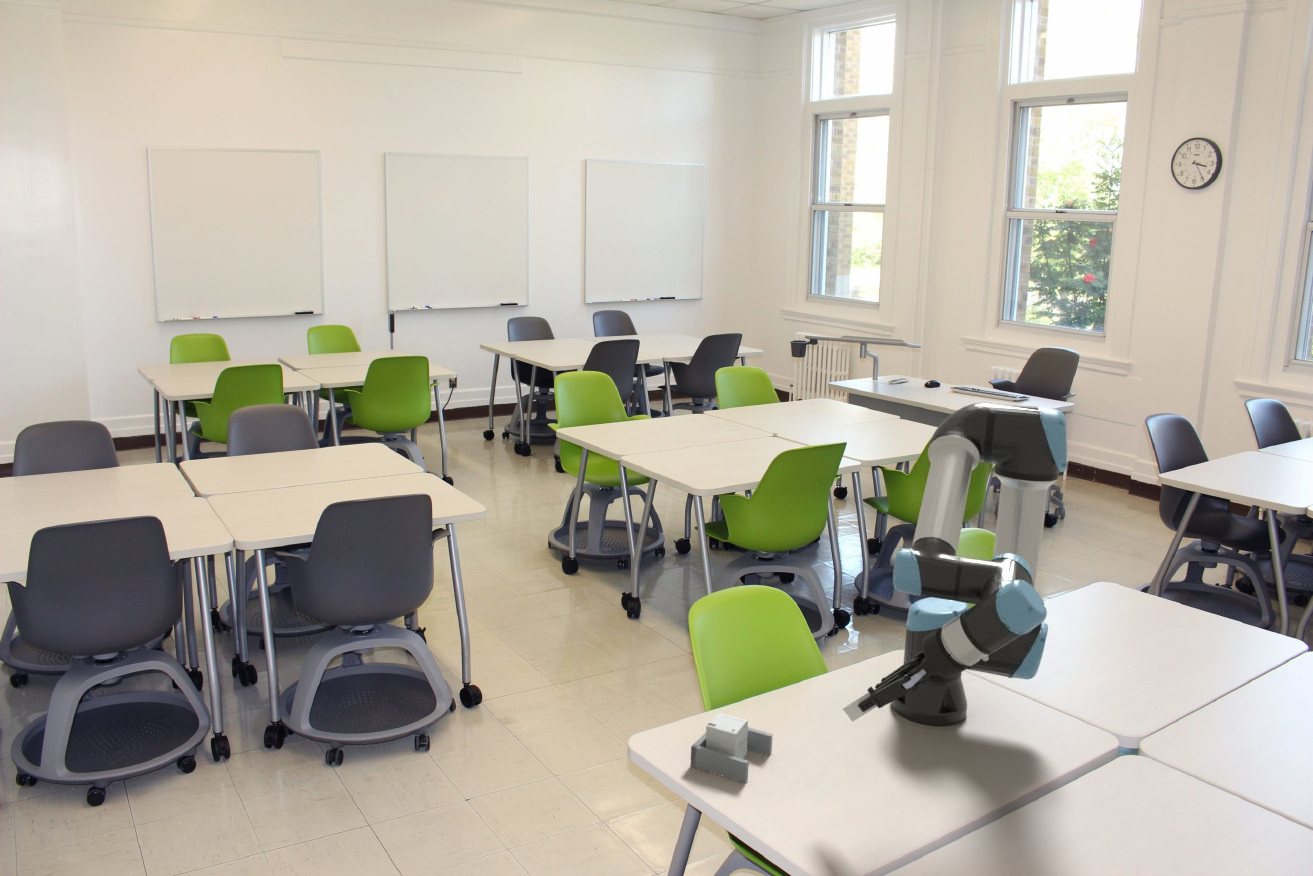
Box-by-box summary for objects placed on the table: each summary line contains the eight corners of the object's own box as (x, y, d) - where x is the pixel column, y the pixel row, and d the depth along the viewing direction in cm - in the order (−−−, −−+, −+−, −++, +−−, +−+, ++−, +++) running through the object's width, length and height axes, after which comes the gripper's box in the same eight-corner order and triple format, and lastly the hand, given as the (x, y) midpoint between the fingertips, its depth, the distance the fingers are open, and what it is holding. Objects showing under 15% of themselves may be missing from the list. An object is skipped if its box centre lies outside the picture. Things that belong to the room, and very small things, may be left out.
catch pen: (718, 737, 195) (719, 719, 194) (771, 753, 190) (772, 734, 189) (690, 766, 185) (691, 746, 184) (745, 783, 180) (746, 763, 179)
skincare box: (747, 755, 189) (749, 719, 188) (734, 770, 184) (736, 734, 182) (717, 747, 192) (719, 711, 190) (704, 761, 187) (705, 725, 185)
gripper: (960, 682, 156) (850, 749, 168) (979, 650, 167) (874, 715, 179) (929, 643, 157) (821, 711, 169) (950, 613, 168) (847, 680, 180)
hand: (849, 713), depth 174 cm, fingers closed
